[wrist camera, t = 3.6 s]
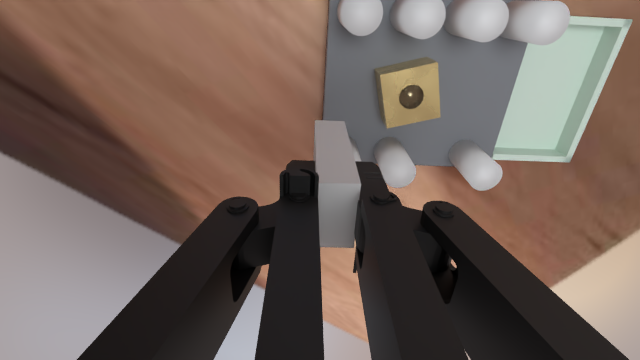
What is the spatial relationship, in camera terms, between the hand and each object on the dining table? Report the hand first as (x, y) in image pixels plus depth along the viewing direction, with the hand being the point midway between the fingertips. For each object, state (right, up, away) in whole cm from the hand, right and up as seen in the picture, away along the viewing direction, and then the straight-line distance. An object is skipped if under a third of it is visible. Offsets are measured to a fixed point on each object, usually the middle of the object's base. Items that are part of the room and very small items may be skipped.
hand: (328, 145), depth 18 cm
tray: (+21, +7, +15) cm, 27 cm away
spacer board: (+9, +7, +15) cm, 18 cm away
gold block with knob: (+7, +6, +13) cm, 16 cm away
